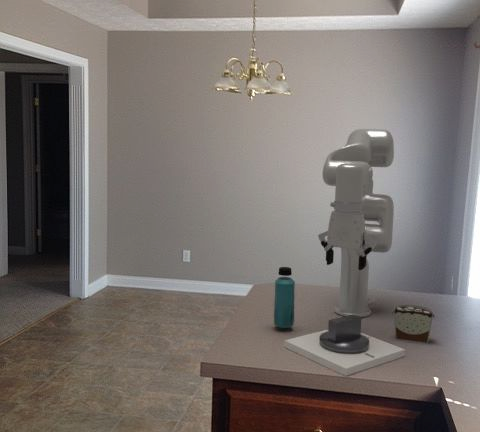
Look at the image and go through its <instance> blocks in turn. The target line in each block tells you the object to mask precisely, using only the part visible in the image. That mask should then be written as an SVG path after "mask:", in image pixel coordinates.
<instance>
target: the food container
mask: <svg viewBox="0 0 480 432" xmlns="http://www.w3.org/2000/svg"><path fill="white" fill-rule="evenodd" d="M393 307H394V308H393V310H392V315H394V333H395V341H403V342H404V341H405V342H410V343H411V342H412V343H418V344H419V343H420V344H426V345H428V344H429V339H430V335H431V334H430V333H431V328H432V322H433V319H434V320H436V317H435V313H434V310H433V309H431V308H429V307H426V306H424V305H419V304H413V303H412V304H409V303H408V304H407V303H405V304H396V305H395V306H393Z"/></svg>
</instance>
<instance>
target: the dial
mask: <svg viewBox="0 0 480 432" xmlns="http://www.w3.org/2000/svg"><path fill="white" fill-rule="evenodd" d="M362 318H363V317H360V316H357V315H354V314H353V315H349V316H342V317H341V316H340V317H335V318H332V319H328V325H327V328H328V332H325V333H322V334H321V335H320V338H319V344H320V345H321V346H322V347H323V348H325V349H327V350H330V351H333V352H338V353H347V354H354V353H361V352H364V351H366V350H368V348H369V339H368V338H367V337H366V336H364V335H362V334H361V333H362Z"/></svg>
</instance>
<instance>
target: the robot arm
mask: <svg viewBox="0 0 480 432" xmlns="http://www.w3.org/2000/svg"><path fill="white" fill-rule="evenodd" d="M394 157H395V145H394V138H393V135H392V133H391V132H390V131H389V130H387V129H376V128H374V129H373V128H370V129H369V128H367V129H366V128H359V129H355V130H353V131H352V132H351V133H350V134H349V136H348V138H347V140H346V144H345V145H344V146H342V147H340V148H337V149H335V150H333V151H331V152H330V153H329V154H328V155H326V158H325V162H324V164H323V169H322V179H323V182H324V183H325V184H326V185H327V186H330V187H331V186H332V187H335V188H334V189H335V190H334V191H335V192H334V201H331V202H330V205H329V206H330V207H331V208H333V211H331V212H330V216H329V221H328V222H329V223H328V228H327V231H324V232H322V233H320V234H318V235H317V237H318V241H319V242H320V246H322V247H323V248H324V251H325V261H326V265H327V266H330V265H332V264H334V258H335V257H334V254H335V253H334V249H333V248H334V247H335V248H340V256H341V259H340V261H341V262H340V278H339V279H340V280H339V281H340V283H339V299H338V300H339V301H338V303H339V304H338V305H335V306H334V312H335V313H336V314H337V315H340V316H342V317H345V316H349V315H353V314H354V315H357V316H360V317H362V318H366V317H369V316H370V315H371V313H372V311H371V308H370V307H369V306H370V305H374V304H376V299H374V298H368V290H369V270H370V269H369V268H370V265H369V264H370V263H369V261H368V258H367V256H368V255H369V254H370V253H381V254H382V253H384V254H385V253H389V252H390V250H391V248H392V243H393V231H394V229H393V228H394V213H395V210H394V201H393V198H392V197H391V196H390V195H388V194H381V193H377V194H376V193H373V192H374V191H373V189H374V179H373V178H374V177H373V175H374V171H373V168H388V167H390V166H391V165H392V164H393V162H394V160H395V159H394ZM366 222H375V224H374V223H366ZM376 222H377V223H378V224H376Z"/></svg>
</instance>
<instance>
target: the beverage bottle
mask: <svg viewBox="0 0 480 432" xmlns="http://www.w3.org/2000/svg"><path fill="white" fill-rule="evenodd" d="M278 275H279V276H280V277H278V278H277V279H276V280H274V283H275V284H274V303H273V324H274V326H276V327H278V328H284V329H287V328H288V329H289V328H292V327H293V326H294V325H295V298H296V297H295V284H296V282H295V280H294V279H293V278H291V276H292V268H291V267H288V266H279V268H278ZM289 276H290V277H289Z"/></svg>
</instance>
